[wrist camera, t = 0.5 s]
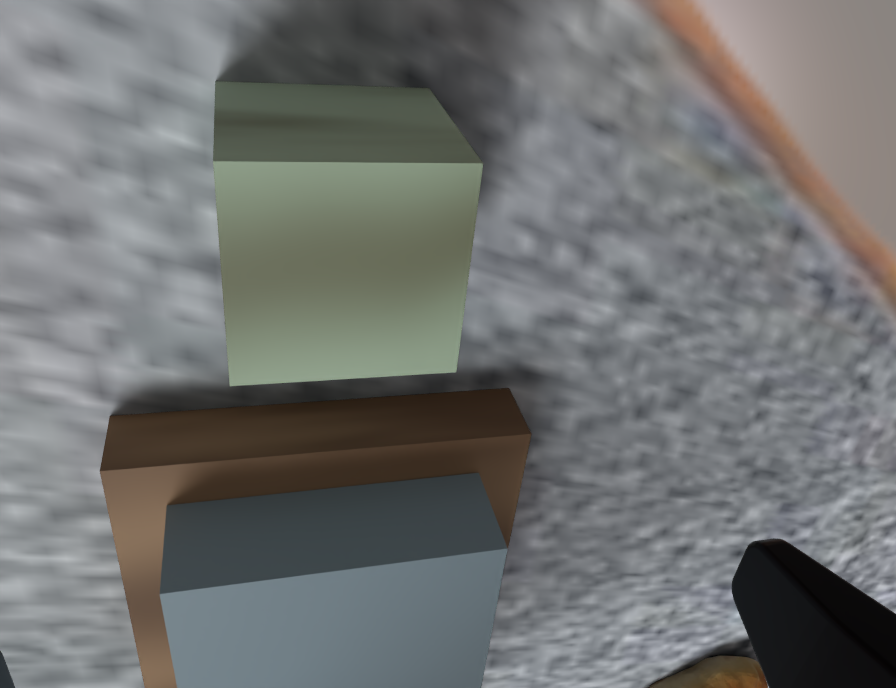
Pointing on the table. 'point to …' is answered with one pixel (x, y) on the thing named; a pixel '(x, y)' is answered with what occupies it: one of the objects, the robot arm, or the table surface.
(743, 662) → the pastry
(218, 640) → the slate top slab
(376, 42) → the table surface
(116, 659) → the table surface
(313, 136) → the sage block
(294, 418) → the walnut base slab
